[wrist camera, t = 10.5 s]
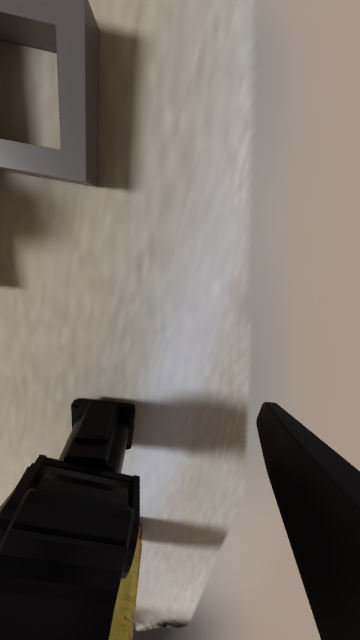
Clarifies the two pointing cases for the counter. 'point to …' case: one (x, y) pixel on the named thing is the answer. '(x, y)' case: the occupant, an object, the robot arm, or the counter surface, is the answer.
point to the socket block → (59, 86)
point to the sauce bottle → (127, 599)
